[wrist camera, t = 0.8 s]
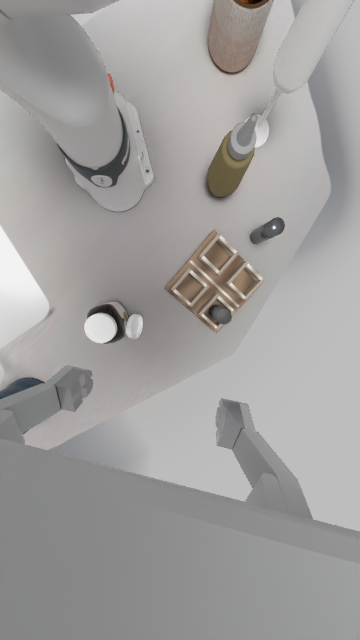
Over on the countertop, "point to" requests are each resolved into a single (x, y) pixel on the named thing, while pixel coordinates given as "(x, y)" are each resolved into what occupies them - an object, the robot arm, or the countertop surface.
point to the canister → (19, 387)
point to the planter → (236, 31)
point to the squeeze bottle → (232, 158)
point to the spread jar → (111, 323)
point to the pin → (267, 230)
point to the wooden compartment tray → (215, 282)
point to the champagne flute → (302, 51)
